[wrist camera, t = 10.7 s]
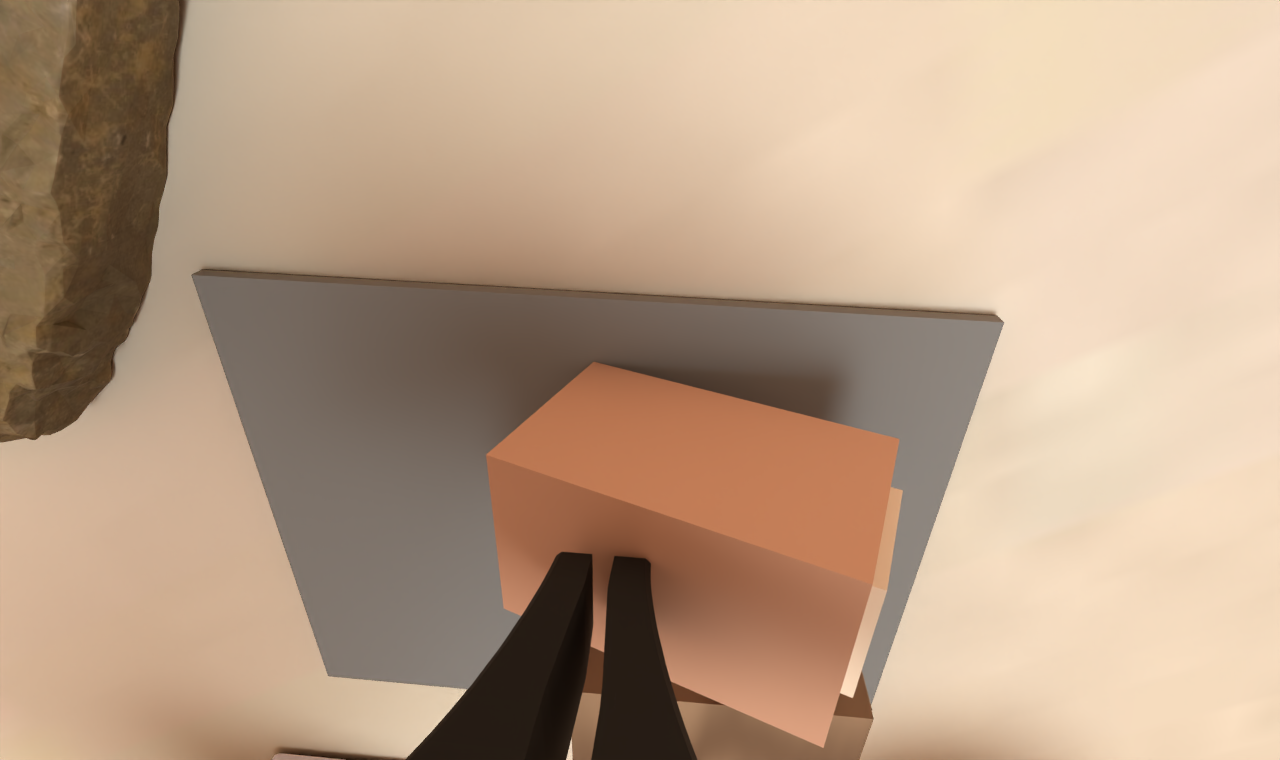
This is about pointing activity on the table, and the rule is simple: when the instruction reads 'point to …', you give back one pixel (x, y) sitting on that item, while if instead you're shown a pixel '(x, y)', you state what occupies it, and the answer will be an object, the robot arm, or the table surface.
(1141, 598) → the table surface
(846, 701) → the walnut block
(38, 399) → the stone slab
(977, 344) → the rubber mat
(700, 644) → the terracotta block
